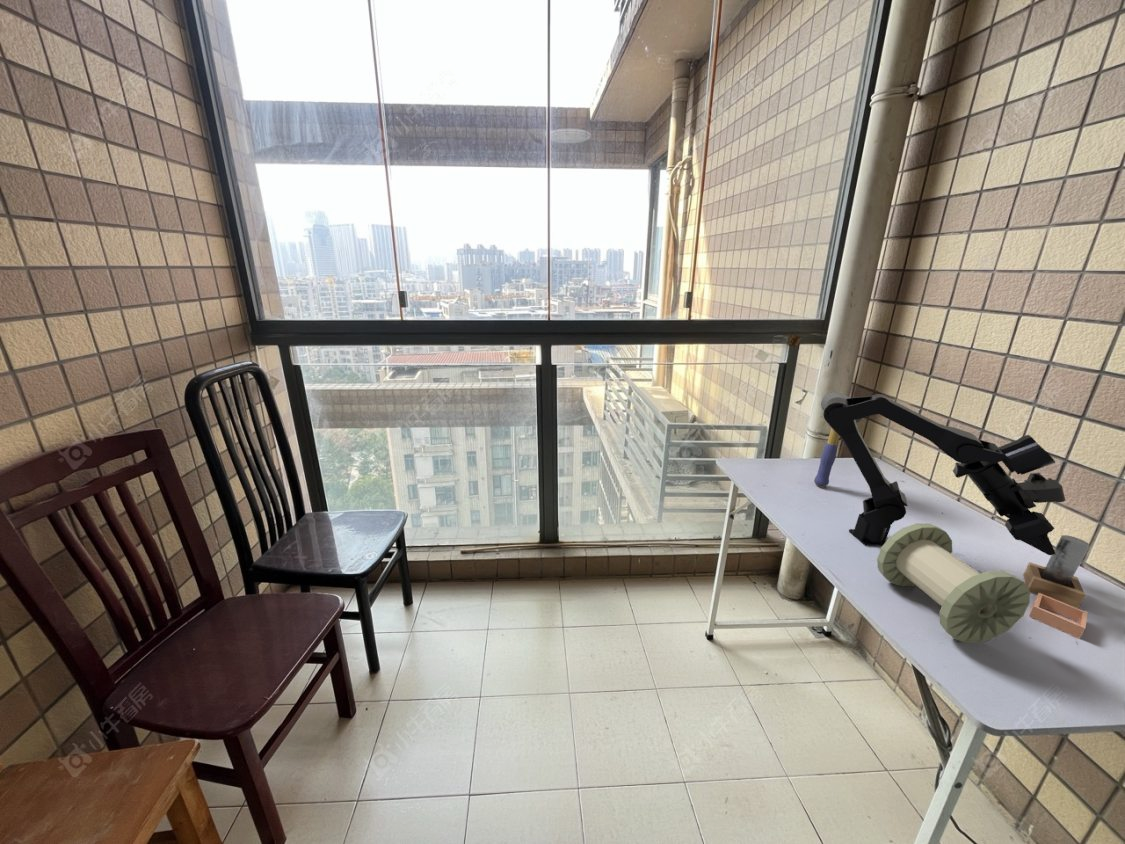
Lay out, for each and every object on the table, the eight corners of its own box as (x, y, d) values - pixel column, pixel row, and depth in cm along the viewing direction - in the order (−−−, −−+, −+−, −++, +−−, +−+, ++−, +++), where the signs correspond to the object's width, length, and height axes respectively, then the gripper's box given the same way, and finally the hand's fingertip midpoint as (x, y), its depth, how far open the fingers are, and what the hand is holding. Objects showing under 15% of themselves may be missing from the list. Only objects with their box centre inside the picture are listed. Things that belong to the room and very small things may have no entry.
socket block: (1028, 616, 86) (1033, 606, 86) (1033, 602, 90) (1038, 592, 90) (1079, 638, 81) (1085, 628, 81) (1082, 622, 85) (1087, 612, 85)
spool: (869, 581, 95) (889, 523, 89) (932, 580, 96) (955, 523, 91) (935, 643, 79) (964, 577, 74) (1009, 641, 80) (1043, 576, 75)
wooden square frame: (1027, 591, 93) (1034, 578, 92) (1022, 574, 99) (1029, 562, 98) (1077, 608, 89) (1085, 595, 88) (1070, 590, 94) (1077, 577, 93)
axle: (1050, 597, 92) (1077, 546, 87) (1030, 584, 96) (1055, 535, 91) (1067, 597, 92) (1095, 546, 88) (1047, 584, 96) (1073, 535, 91)
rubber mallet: (842, 496, 131) (870, 403, 120) (816, 494, 131) (842, 401, 121) (823, 478, 142) (847, 391, 132) (799, 476, 143) (821, 389, 133)
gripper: (1059, 483, 82) (1117, 552, 80) (1026, 451, 97) (1075, 509, 95) (988, 507, 88) (1041, 571, 87) (968, 474, 103) (1012, 528, 101)
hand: (1044, 543), depth 92 cm, fingers open, 9 cm apart
